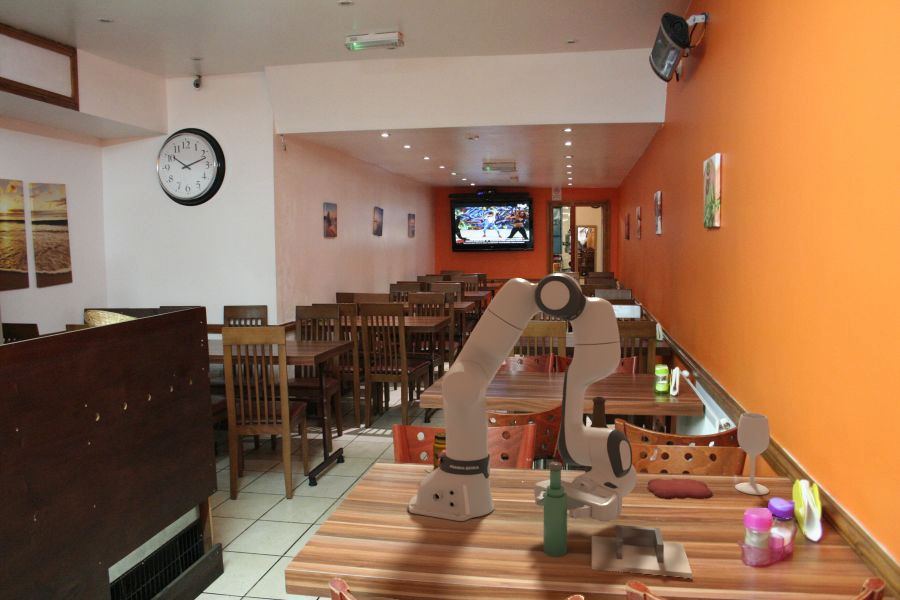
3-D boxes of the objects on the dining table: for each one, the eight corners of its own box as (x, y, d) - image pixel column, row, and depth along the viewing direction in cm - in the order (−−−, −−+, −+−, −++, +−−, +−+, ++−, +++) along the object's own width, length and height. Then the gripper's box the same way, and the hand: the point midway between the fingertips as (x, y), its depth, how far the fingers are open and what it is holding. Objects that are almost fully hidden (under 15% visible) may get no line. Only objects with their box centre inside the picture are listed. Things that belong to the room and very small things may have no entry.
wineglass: (730, 484, 187) (731, 412, 185) (760, 484, 187) (762, 412, 185) (742, 495, 178) (744, 419, 177) (774, 495, 178) (777, 419, 176)
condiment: (440, 478, 194) (440, 438, 193) (424, 470, 200) (424, 432, 200) (460, 473, 198) (459, 434, 197) (444, 466, 205) (443, 428, 204)
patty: (654, 500, 176) (654, 493, 176) (641, 482, 190) (641, 476, 190) (719, 500, 176) (719, 493, 175) (701, 482, 189) (701, 476, 189)
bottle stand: (591, 569, 137) (591, 545, 137) (591, 540, 151) (591, 519, 150) (691, 578, 133) (692, 554, 133) (682, 548, 147) (682, 526, 146)
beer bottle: (612, 482, 189) (613, 401, 187) (585, 481, 190) (585, 400, 188) (611, 473, 196) (612, 395, 195) (585, 472, 198) (585, 394, 196)
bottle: (542, 555, 144) (542, 467, 142) (544, 545, 149) (544, 459, 147) (566, 557, 143) (567, 468, 141) (567, 547, 148) (567, 461, 146)
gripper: (554, 468, 162) (518, 482, 152) (627, 490, 147) (593, 506, 137) (554, 493, 162) (518, 508, 152) (627, 517, 147) (592, 535, 138)
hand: (554, 508), depth 145 cm, fingers open, 8 cm apart
